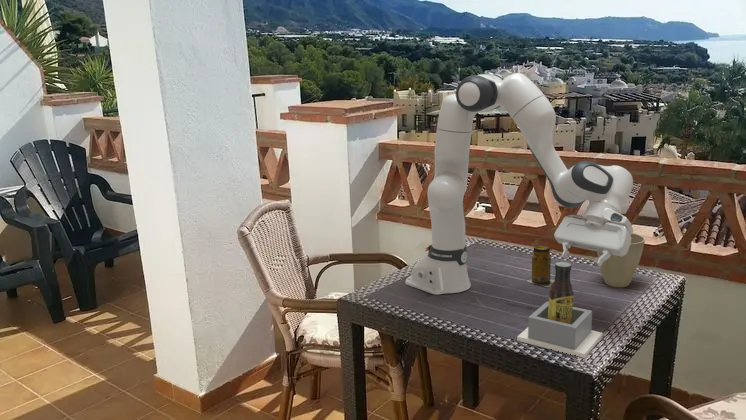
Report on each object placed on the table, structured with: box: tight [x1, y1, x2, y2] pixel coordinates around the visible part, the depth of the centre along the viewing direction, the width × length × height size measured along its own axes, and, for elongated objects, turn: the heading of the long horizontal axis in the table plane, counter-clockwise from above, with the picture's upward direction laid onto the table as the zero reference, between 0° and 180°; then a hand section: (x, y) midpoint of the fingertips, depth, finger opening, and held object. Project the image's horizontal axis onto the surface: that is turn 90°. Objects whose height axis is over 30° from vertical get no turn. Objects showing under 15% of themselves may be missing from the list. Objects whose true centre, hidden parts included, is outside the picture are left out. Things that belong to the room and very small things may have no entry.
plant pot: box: [596, 232, 646, 288], centre depth 191 cm, size 15×15×16 cm
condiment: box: [525, 245, 555, 288], centre depth 196 cm, size 7×8×12 cm
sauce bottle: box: [548, 261, 575, 325], centre depth 154 cm, size 7×6×20 cm
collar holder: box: [516, 300, 604, 359], centre depth 156 cm, size 18×14×7 cm
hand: (580, 261), depth 158 cm, fingers open, 8 cm apart
